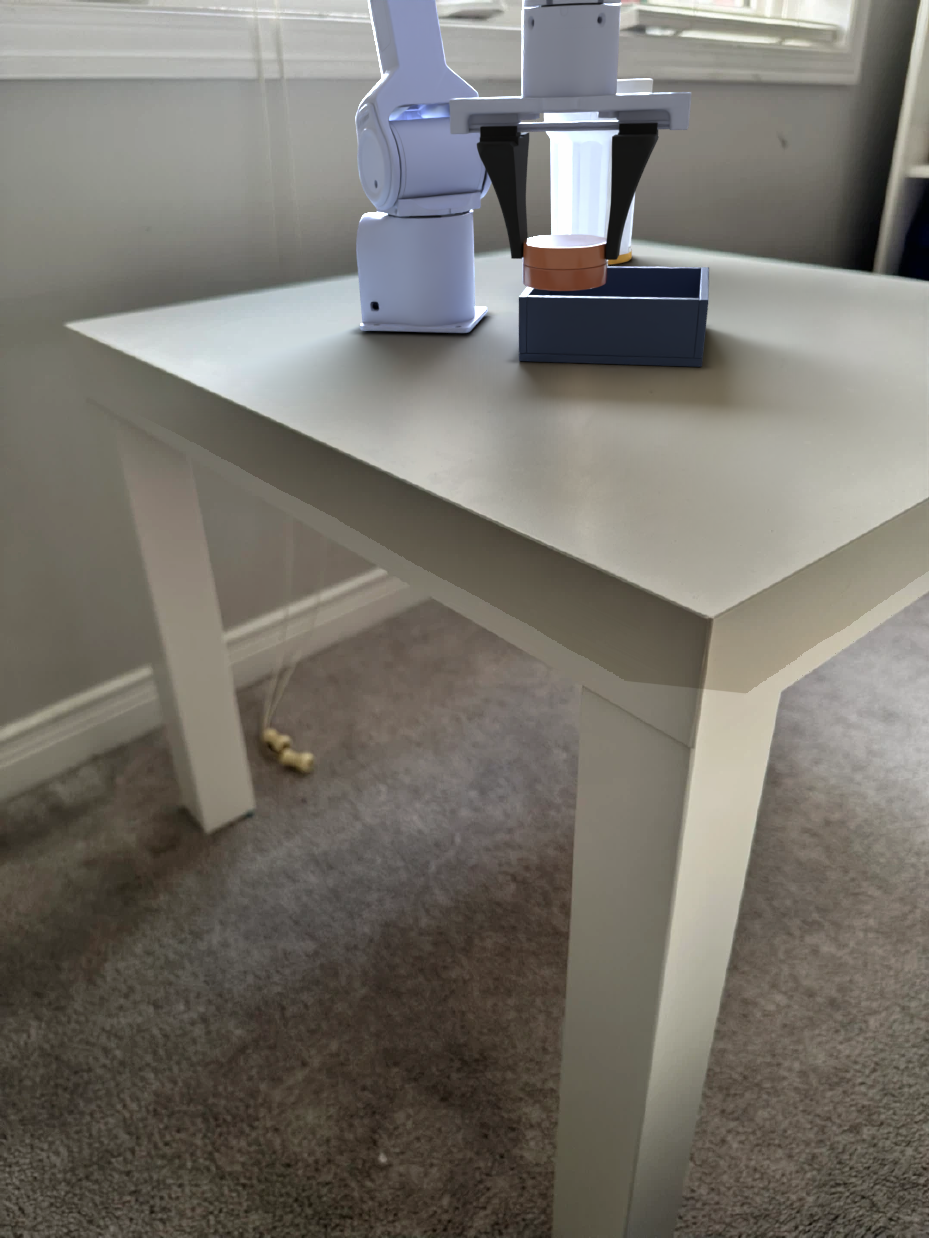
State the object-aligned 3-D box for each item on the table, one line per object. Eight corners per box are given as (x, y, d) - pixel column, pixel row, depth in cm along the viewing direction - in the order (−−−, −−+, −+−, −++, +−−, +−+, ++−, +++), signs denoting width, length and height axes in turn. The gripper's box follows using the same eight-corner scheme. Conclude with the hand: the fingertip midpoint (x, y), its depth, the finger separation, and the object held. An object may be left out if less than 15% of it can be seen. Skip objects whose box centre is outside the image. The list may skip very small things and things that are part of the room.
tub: (518, 361, 67) (518, 296, 65) (543, 322, 77) (544, 265, 75) (701, 367, 65) (708, 300, 62) (703, 326, 75) (709, 267, 72)
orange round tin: (515, 290, 59) (515, 247, 58) (530, 274, 64) (530, 233, 62) (602, 292, 58) (604, 248, 56) (610, 275, 62) (612, 234, 61)
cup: (644, 250, 107) (656, 78, 98) (638, 268, 97) (650, 79, 88) (548, 250, 109) (551, 81, 100) (533, 267, 100) (535, 83, 91)
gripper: (432, 11, 51) (442, 266, 58) (697, -2, 48) (674, 269, 55) (462, 16, 57) (468, 248, 64) (700, 5, 54) (679, 249, 61)
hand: (564, 257), depth 60 cm, fingers closed on orange round tin, 5 cm apart
